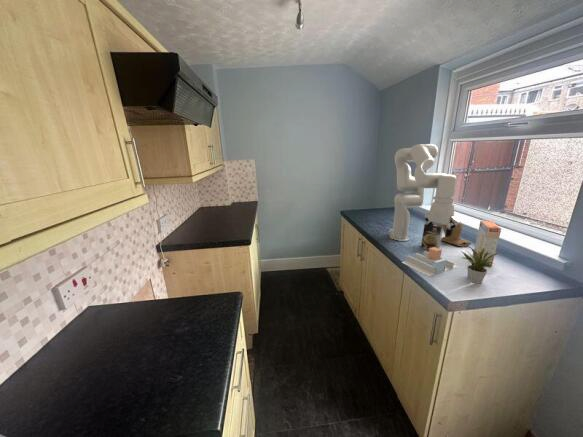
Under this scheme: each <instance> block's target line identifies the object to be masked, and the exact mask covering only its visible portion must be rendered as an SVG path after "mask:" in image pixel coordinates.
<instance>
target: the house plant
mask: <svg viewBox="0 0 583 437" xmlns="http://www.w3.org/2000/svg"><path fill="white" fill-rule="evenodd" d="M467 247H468V248H469V249H470V250H471V251H472V253H471V252H469V251H468V250H466V249H464V250H465V251H466V252H467V253H468V254H469V255H470V256H469V255H468V254H467V253H466V252H464V251H462V250H460V251H461V253H462V254H463V255H464V257H463V259H466V260H468V261H467V262H469V263H471V264H468V265H467V278H468V279H469V280H470V281H472V283H474V284H477V285H478V284H482V282H483V280H484V279H485V276H486V274H487V273H488V270H487V269H486V267H488V268H489V269H490V268H491V267H493V265H495V263H494V262H493V263H492V262H487V263H486V261H487V260H488V259H490V258H491V257H493V256H494V259H495V258H496V257H495V256H497V255H503V253H501V252H497V253H496V252H495V254H493V255H491V256H489V257H488V258H486V259H485V257H486V255H487V254H489V253H488V251H487V252H486V254H485V255H484V257H483V256H482V255H483V253H484V250H485V247H483V249H481V252H480V257H479V256H478V254H476V253H477V252H475V251H476V250H475V249H474V248H473V247H470V245H469V246H467ZM473 253H474V255H473ZM475 256H476V257H475ZM482 257H483V259H482ZM492 259H493V258H492ZM494 259H493V260H494ZM490 260H491V259H490ZM488 261H489V260H488ZM489 264H492V265H489Z"/></svg>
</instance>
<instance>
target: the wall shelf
mask: <svg viewBox="0 0 583 437" xmlns="http://www.w3.org/2000/svg"><path fill="white" fill-rule="evenodd" d="M428 254H429V251H426V250H424V251H423V255H422V254H420V253H418V252H416V253H415V255H414V257H413V256H411V255H407V256H406V260H405V261H401V264H404V265H406V266H409V267H410V268H412V269H414V270H416V271H418V272H420V273H422V274H424V275H426V276H428V277H430V276H433V275H436V274H440V273H442V272H446V271H448V270H451V269H455V268H458V267H459V265H457V264H455V262H453V261H451V260H449V259H446V258H443V257H442V256H441V257H440V260H437V261H435V260H432V259H430V258H428Z"/></svg>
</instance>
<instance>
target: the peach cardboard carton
mask: <svg viewBox="0 0 583 437" xmlns="http://www.w3.org/2000/svg"><path fill="white" fill-rule="evenodd" d="M428 252H429V254H428V258H430V259H432V260H435V261H437V260H440V257H442V249H441V248H436V247H433V248H429V250H428Z"/></svg>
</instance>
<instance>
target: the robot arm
mask: <svg viewBox="0 0 583 437" xmlns="http://www.w3.org/2000/svg"><path fill="white" fill-rule="evenodd" d="M438 153H439V149H438V146H436V144H432V143H425V144H424V143H423V144H422V143H421V144H420V143H418V144H414V145H413V146H411V147H407V148H406V147H404V148H399V149H398V150H397V151H396V152H395V154H394V163H395V169H396V187H397V191H400V192H401V193H397V194H396V195H395V196H394V200H393V202H394V215H393V226H392V228H390V229H389V230H388V233H390V234H389V238H390V239H391V240H393V239H394V241H396V240H398V241H397V242H408V241H410V239H411V238H410V236H409V234H408V233H409V226H410V218H411V213H410V211H409V210H408V208H420V207H422V206H423V204H424V200H425V198H424V196H425V195H424V193H425V189H435V196H433V197H432V199H433V200H434V201H433V202H432V203H431V205H430V208H429V212H428V213H425V214H424V219H425V222H426V223H427V224H428V227H427V231H432V230H433V223H434V224H440V225H446V226H447V228H448V229H447V230H446V237H449V236H451V235H452V230H453V229H454V228H455V227H457V225H458V224H459V223H460V222H461V221H460V220H458V219H457V218H456V217H455V204H454V203H453V202H454V197H455V191H456V190H455V189H456V185H457V176H456V175H454V174H448V173H445V172H444V173H442V172H440V173H436V172H434V173H433V172H432V173H431V172H430V173H426V171H428V170H430V169H431V168H432V167H433V166H434V163H435V158H436V157H437V156H438ZM409 163H415V165H416V167H415V168H414V175H412V168H411V166H410V165H409ZM459 221H460V222H459ZM453 222H454V225H453V224H452V223H453Z"/></svg>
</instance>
